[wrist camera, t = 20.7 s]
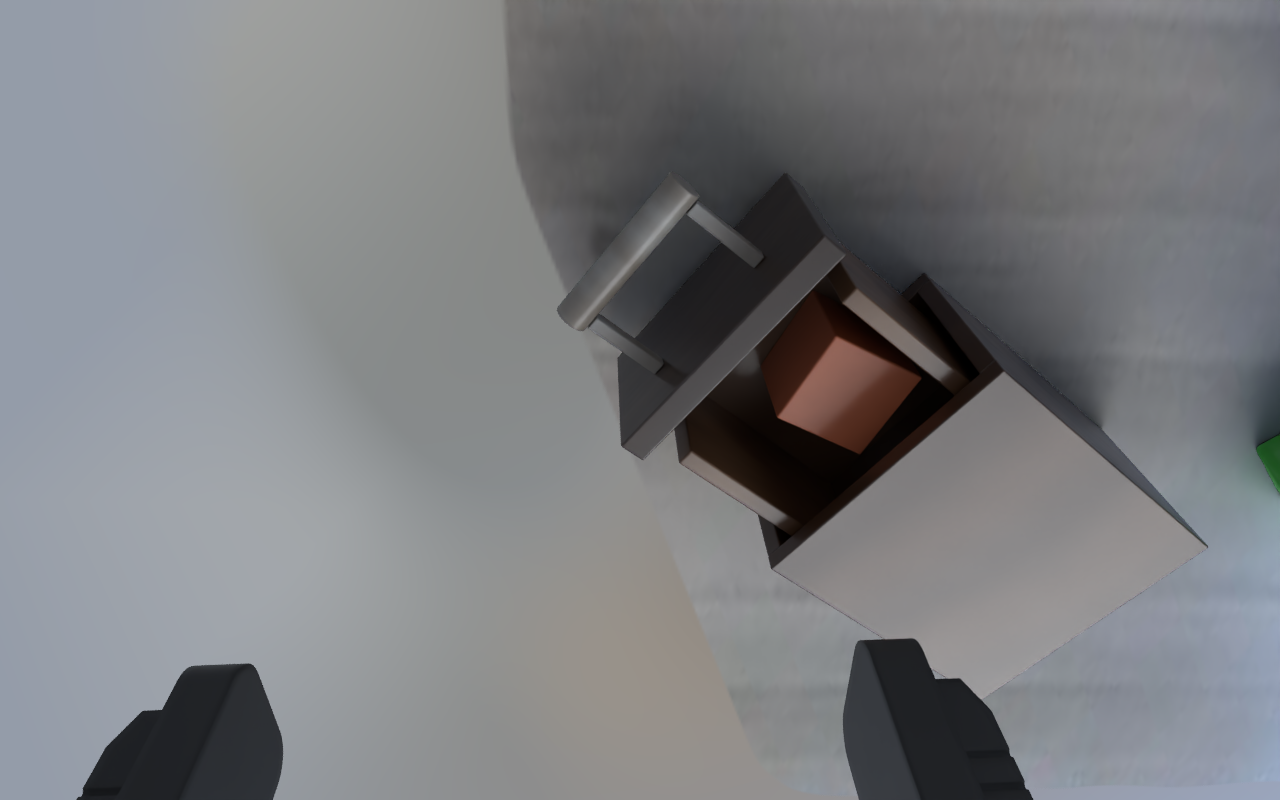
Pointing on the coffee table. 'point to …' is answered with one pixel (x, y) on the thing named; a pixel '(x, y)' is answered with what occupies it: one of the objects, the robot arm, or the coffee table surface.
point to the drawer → (752, 349)
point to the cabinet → (988, 522)
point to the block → (836, 374)
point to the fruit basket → (1271, 459)
